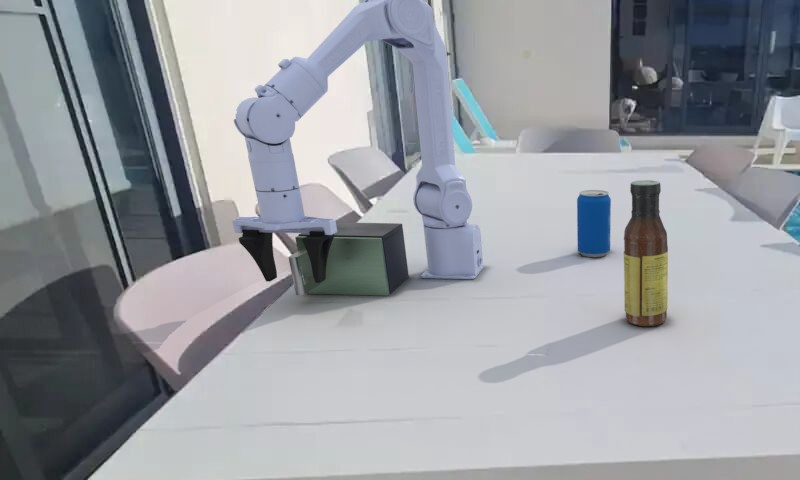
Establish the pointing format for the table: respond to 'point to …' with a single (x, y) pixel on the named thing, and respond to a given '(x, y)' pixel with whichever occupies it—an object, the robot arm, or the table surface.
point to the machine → (391, 246)
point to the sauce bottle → (645, 258)
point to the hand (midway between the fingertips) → (296, 280)
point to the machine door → (343, 268)
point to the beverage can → (593, 223)
